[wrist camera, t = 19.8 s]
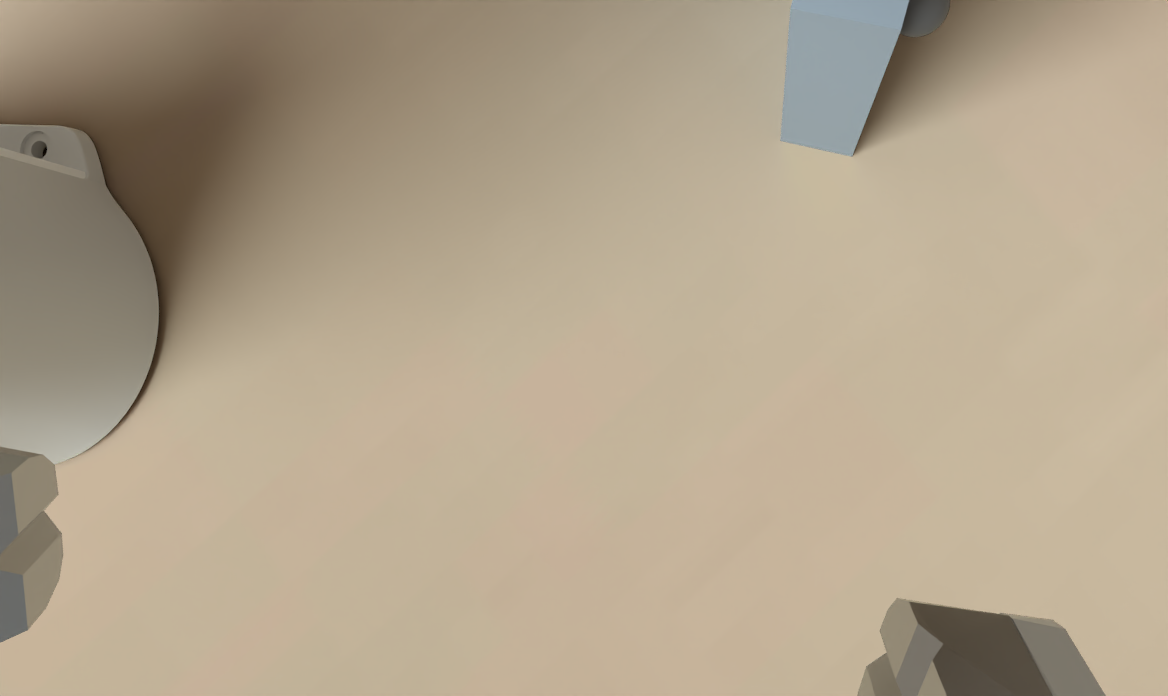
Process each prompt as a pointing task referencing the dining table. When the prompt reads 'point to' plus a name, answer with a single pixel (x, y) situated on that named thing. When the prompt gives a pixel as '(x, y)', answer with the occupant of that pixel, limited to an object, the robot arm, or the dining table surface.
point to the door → (844, 64)
